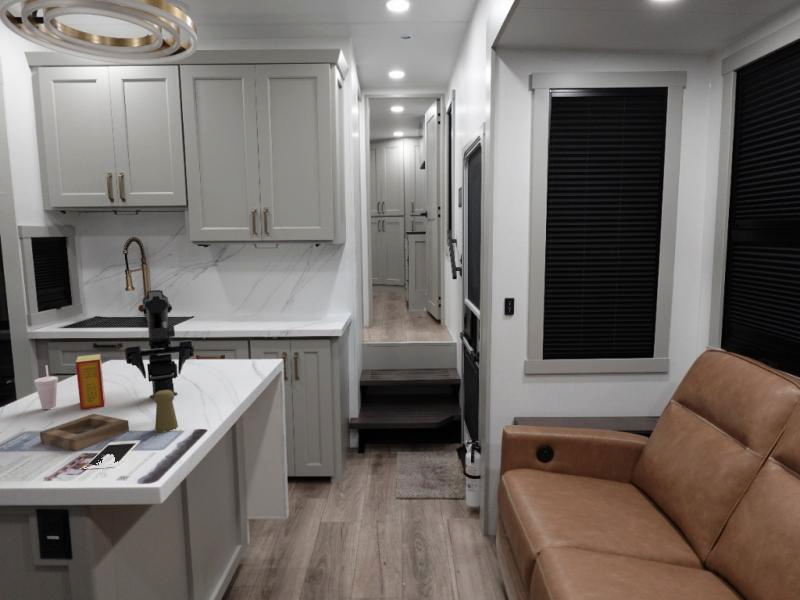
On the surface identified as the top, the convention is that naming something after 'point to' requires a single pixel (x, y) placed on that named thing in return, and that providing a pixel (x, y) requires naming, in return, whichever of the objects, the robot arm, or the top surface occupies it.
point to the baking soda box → (90, 381)
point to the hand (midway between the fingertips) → (162, 375)
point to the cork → (165, 411)
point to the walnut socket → (70, 440)
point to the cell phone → (114, 452)
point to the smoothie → (47, 390)
